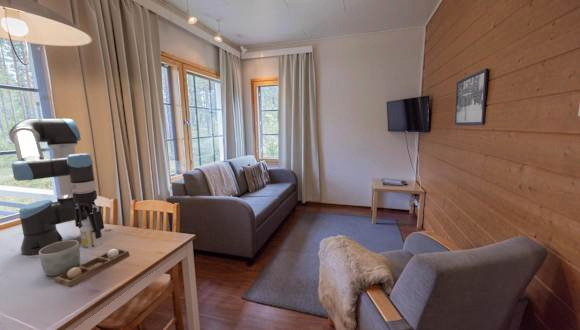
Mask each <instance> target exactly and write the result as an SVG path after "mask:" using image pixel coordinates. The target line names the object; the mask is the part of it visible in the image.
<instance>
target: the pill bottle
mask: <svg viewBox="0 0 580 330" xmlns="http://www.w3.org/2000/svg"><path fill="white" fill-rule="evenodd" d="M81 223H82V225H83V226H82V227H81V228H80V229H79V233H80V238H81V239H80V240H81V245H82V246H81V247H82V248H83V249H84V250H85V249H86V250H89V249H90V250H91V249H95V248H96V247H99V246H101V245H102V244H100V245H98V246H96V247H95V246H94V242H93V235H92V232H91V231H93V228H92V226H91V223H90V220H89V218H88V219H85V220H82V221H81Z"/></svg>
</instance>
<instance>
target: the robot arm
mask: <svg viewBox="0 0 580 330" xmlns="http://www.w3.org/2000/svg"><path fill="white" fill-rule="evenodd" d="M8 135H9V139H10V141H11V142H12V143H13V144H14V148H15V152H16V157H17V161H13V162H12V163H11V168H12V174H13V175H12V176H13V178H14V180H15V181H16V182H19V181H21V182H22V181H33V180H39V179H40V180H41V179H48V178H56V177H57V183H58V188H59V189H58V190H59V195H58V196H57V197H56V200H57V201H53V200H51V199H45V200H43V199H42V200H39V201H35V202H31V203H28V204H26V205H23V206H22V207H21V208H19V211H18V212H19V213H18V214H19V218H18V219H19V220H20V222H21V228H22V229H21V230H22V233H23V239H22V243H21V246H20V251H21V255H28V256H29V255H30V256H32V255H39V251H40V250H41V249H42V248H44V247H46V246H48V245H50V244H53V243H57V242H61V241H64V239H63V236H62V235H61V234H60V232H59V231H58V229H57V225H60V224H64V223H69V222H73V221H74V224H75V227H76V228H79V230H80V228H81V227H82V226H83V225H82V223H81V221H82V220H85V219H88V218H89V220H90V223H91V226H92V228H93V231H91V232H92V235H93V242H94V246H95V247H94V248H96V246H97V247H99V246H101V245H103V240H102V233H101V230H103V229H105V225H104V220H103V214H102V207H101V205H99V206H98V205H97V204H96V203H95V201H96V200H98V193H97V190H96V189H97V187H96V180H95V174H94V167H93V166H94V165H93V159H92V155H91V154H90V153H76V146H77V145H78V142H79V141H81V139H82V138H81V133H80V129H79V127H78V125H77V122H76V121H74V120H73V118H28V119H24V120H22V121H19V122H18V123H16V124H14V125H13V126H12V127H11V129H10V130H9V134H8ZM40 143H47V146H48V147H49V148H51V149H52V153H53V158H45V156H44V154H43V151H42V148H41V147H42V146H41V144H40ZM100 244H101V245H100ZM98 245H99V246H98Z"/></svg>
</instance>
